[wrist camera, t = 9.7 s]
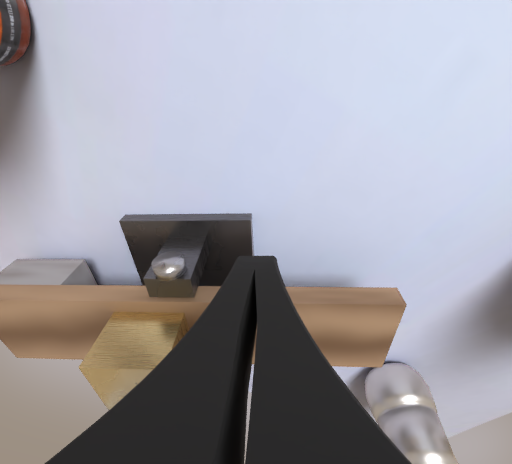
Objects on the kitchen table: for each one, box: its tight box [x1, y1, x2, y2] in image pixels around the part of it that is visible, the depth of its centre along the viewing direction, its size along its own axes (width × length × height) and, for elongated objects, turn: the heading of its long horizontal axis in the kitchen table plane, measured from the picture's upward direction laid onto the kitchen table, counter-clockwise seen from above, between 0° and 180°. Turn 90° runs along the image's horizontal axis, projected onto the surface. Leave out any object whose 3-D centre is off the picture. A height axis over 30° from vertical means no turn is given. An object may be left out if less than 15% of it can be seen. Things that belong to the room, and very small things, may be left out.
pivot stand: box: [119, 214, 254, 297], centre depth 22 cm, size 14×10×6 cm
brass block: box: [79, 312, 189, 410], centre depth 18 cm, size 5×5×4 cm
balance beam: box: [0, 259, 406, 367], centre depth 21 cm, size 7×30×4 cm, turn 92°
